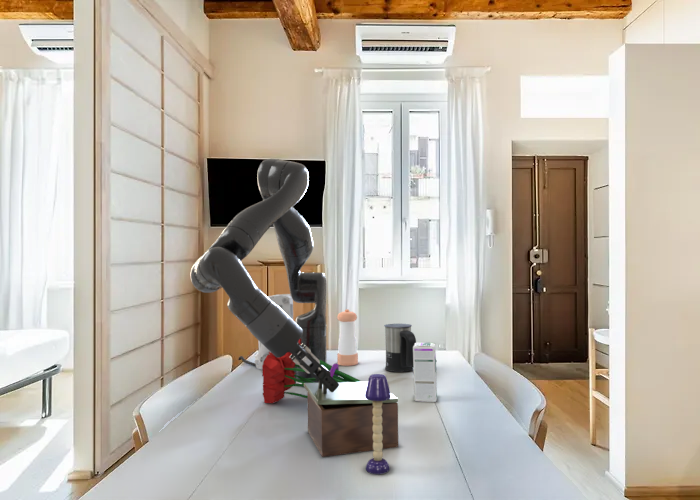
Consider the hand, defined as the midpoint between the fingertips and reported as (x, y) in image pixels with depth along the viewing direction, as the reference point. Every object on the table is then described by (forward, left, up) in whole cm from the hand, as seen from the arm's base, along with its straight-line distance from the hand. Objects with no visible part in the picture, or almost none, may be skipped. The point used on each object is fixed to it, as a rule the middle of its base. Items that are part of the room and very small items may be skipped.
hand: (331, 384), depth 100 cm
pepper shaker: (-32, +65, -12) cm, 73 cm away
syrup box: (+7, +37, -12) cm, 39 cm away
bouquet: (-15, +20, -12) cm, 28 cm away
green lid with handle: (+3, +2, -2) cm, 4 cm away
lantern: (-53, +50, -12) cm, 74 cm away
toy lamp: (+14, -7, -12) cm, 20 cm away
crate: (+3, +3, -12) cm, 12 cm away
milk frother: (-9, +67, -12) cm, 68 cm away
